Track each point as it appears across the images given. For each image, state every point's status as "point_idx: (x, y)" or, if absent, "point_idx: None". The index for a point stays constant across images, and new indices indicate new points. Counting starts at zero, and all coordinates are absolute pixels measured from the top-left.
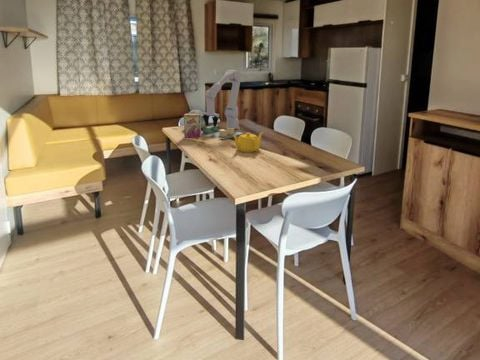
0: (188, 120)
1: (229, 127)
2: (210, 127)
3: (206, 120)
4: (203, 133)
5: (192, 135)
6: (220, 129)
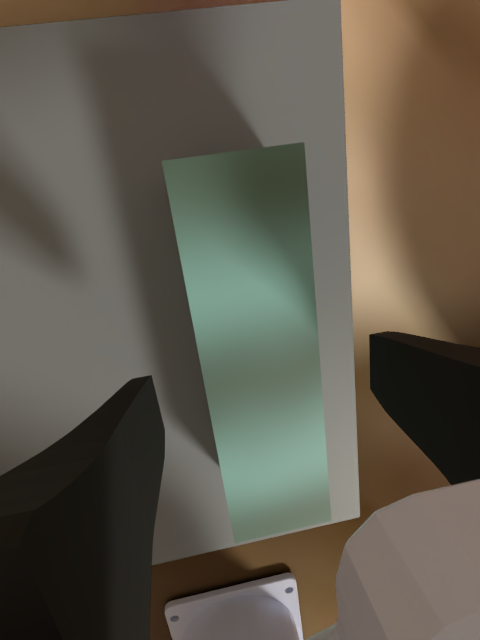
0: None
1: (219, 634)
2: (202, 316)
3: (455, 402)
4: None
5: None
6: None
